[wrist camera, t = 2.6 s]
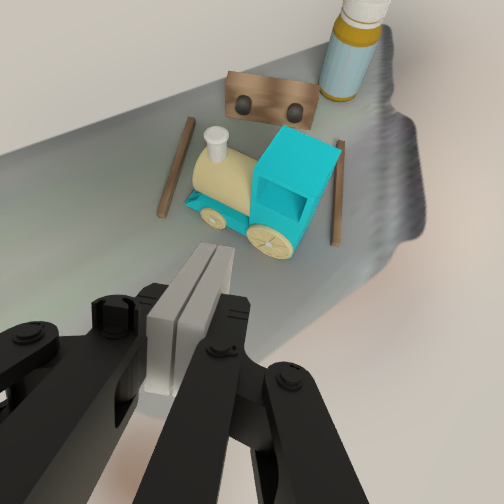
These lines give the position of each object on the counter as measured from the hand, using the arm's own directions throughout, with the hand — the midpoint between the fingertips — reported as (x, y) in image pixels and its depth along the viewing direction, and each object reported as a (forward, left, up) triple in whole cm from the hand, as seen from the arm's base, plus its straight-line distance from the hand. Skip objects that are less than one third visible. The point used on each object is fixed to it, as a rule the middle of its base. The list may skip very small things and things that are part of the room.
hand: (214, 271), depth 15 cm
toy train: (-1, +18, -24) cm, 30 cm away
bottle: (+11, +46, -24) cm, 53 cm away
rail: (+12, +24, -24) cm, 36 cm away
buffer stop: (0, +37, -24) cm, 44 cm away
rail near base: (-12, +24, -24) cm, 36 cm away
